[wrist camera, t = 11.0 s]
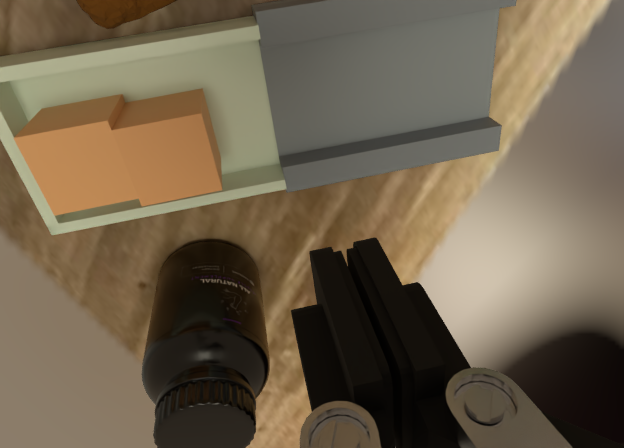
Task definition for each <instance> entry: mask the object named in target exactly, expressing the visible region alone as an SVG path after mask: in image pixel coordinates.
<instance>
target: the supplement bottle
mask: <svg viewBox="0 0 624 448" xmlns="http://www.w3.org/2000/svg"><path fill="white" fill-rule="evenodd" d="M269 371H270V362H269V351H268V343H267V334H266V326H265V317H264V309H263V301H262V292H261V285H260V278H259V274H258V270H257V268H256V266H255V264H254V262H253V261H252V260H251V258H250V257H249V256H248V255H247V254H245V253H244V252H243V251H241V250H240V249H238V248H236V247H234V246H232V245H229V244H225V243H221V242H199V243H194V244H191V245H188V246H186V247H184V248H182V249H180V250H178V251H177V252H175V253H174V254H173V255H171V256H170V257H169V258H168V260H167V261H166V262H165V263H164V265H163V267H162V269H161V271H160V274H159V277H158V282H157V287H156V292H155V298H154V303H153V309H152V314H151V320H150V325H149V331H148V336H147V342H146V348H145V353H144V359H143V366H142V381H143V385H144V388H145V390H146V393H147V394H148V396H149V397H150V399H151V400H152V401H153V403H154V404H155V405H156V408H155V418H156V419H155V426H154V434H153V435H154V439H155V444H156V445H157V448H246V446H248V445H249V444H250V441H251V440H253V439H254V434H255V433H256V416H255V410H256V400H255V399H256V398H257V397H258V396H259V395H260V393H261V392H262V390H263V388H264V387H265V385H266V382H267V380H268V376H269Z"/></svg>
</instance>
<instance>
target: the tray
mask: <svg viewBox="0 0 624 448" xmlns="http://www.w3.org/2000/svg"><path fill="white" fill-rule="evenodd" d="M259 39H261V38H260V32H259V26H258V24H257V22H256V20H255V18H254V16H248V17H242V18H235V19H229V20H223V21H217V22H211V23H204V24H198V25H192V26H186V27H180V28H173V29H167V30H161V31H155V32H149V33H142V34H136V35H130V36H124V37H118V38H111V39H105V40H99V41H93V42H87V43H80V44H74V45H68V46H62V47H55V48H49V49H43V50H37V51H31V52H24V53H18V54H12V55H6V56H0V139H1V141H2V143H3V145H4V147H5V149H6V151H7V152H8V154H9V156H10V158H11V160H12V162H13V164H14V166H15V167H16V169H17V171H18V173H19V175H20V177H21V179H22V181H23V182H24V184H25V186H26V188H27V190H28V192H29V194H30V196H31V197H32V199H33V201H34V203H35V205H36V207H37V209H38V210H39V212H40V214H41V216H42V218H43V220H44V222H45V224H46V225H47V227H48V229H49V231H50V233H51V235H56V234H61V233H67V232H72V231H77V230H82V229H87V228H92V227H97V226H102V225H107V224H112V223H117V222H122V221H127V220H132V219H137V218H143V217H148V216H153V215H158V214H163V213H168V212H173V211H178V210H183V209H188V208H193V207H198V206H203V205H208V204H213V203H219V202H224V201H229V200H234V199H239V198H244V197H249V196H254V195H259V194H264V193H269V192H274V191H279V190H284V189H286V183H285V178H284V175H283V172H282V168H281V165H280V160H279V155H278V149H277V143H276V138H275V132H274V126H273V120H272V115H271V109H270V103H269V97H268V92H267V86H266V80H265V75H264V69H263V63H262V57H261V52H260V46H259ZM202 88H203V92H204V96H205V99H206V103H207V107H208V111H209V114H210V118H211V122H212V126H213V130H214V133H215V137H216V141H217V145H218V149H219V152H220V156H221V171H222V190H221V191H216V192H211V193H206V194H201V195H196V196H191V197H186V198H182V199H177V200H172V201H167V202H162V203H157V204H152V205H147V206H141V204H140V201H139V199H134V200H129V201H125V202H120V203H115V204H110V205H105V206H100V207H95V208H90V209H85V210H80V211H75V212H70V213H65V214H60V215H55V216H54V214H53V212H52V210H51V208H50V207H49V205H48V203H47V201H46V199H45V197H44V195H43V193H42V191H41V190H40V188H39V186H38V184H37V182H36V180H35V178H34V176H33V174H32V173H31V171H30V169H29V167H28V165H27V163H26V161H25V159H24V157H23V155H22V154H21V152H20V150H19V148H18V146H17V144H16V142H15V140H14V137H15V136H16V135H17V134H18V133H19V132H20V131H21V130H22V129H23V128H24V127H25V126H26V124H27V123H28V122H29V121H30V120H31V119H32V118H33V117H34V116H35V115H36V114H37V113H38V112H39V111H40V110H41V109H42V108H48V107H53V106H59V105H64V104H70V103H75V102H81V101H86V100H91V99H97V98H102V97H108V96H113V95H119V94H122V95H123V97H124V100H125V103H126V102H132V101H137V100H142V99H148V98H153V97H159V96H164V95H169V94H175V93H180V92H186V91H191V90H197V89H202Z"/></svg>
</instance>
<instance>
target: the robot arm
mask: <svg viewBox="0 0 624 448" xmlns="http://www.w3.org/2000/svg"><path fill="white" fill-rule="evenodd" d="M310 260H311V267H312V273H313V280H314V287H315V293H316V300H317V305H312V306H308V307H303V308H298V309H294V310H291V314H292V319H293V324H294V329H295V334H296V339H297V344H298V349H299V353H300V358H301V363H302V368H303V372H304V377H305V382H306V386H307V391H308V396H309V400H310V405H311V410H312V413H311V414H310V415H309V416H308V417H307V418H306V420H305V422H304V424H303V426H302V428H301V435H300V448H395V446H396V448H624V446H623V445H621V444H618V443H616V442H613V441H611V440H608V439H606V438H604V437H601V436H599V435H596V434H594V433H592V432H589V431H587V430H585V429H582V428H580V427H577V426H575V425H572V424H570V423H568V422H565V421H563V420H560V419H558V418H555V417H553V416H551V415H548V414H546V413H543V412H541V411H540V410H539V409H538V408H537V407H536V406H535V405H534V403H533V402H532V401H531V400H530V399H529V398H528V397H527V395H526V394H525V393H524V392H523V391H522V390H521V389H520V388H519V387H518V385H517V384H515V383H514V382H513V381H512V380H511V379H510V378H509V377H507V376H505V375H503V374H501V373H499V372H498V371H494V370H491V369H487V368H471V367H470V365H469V364H468V362H467V360H466V359H465V357H464V355H463V354H462V352H461V350H460V349H459V347H458V345H457V344H456V342H455V340H454V339H453V337H452V335H451V334H450V332H449V330H448V329H447V327H446V325H445V324H444V322H443V320H442V319H441V317H440V315H439V314H438V312H437V310H436V309H435V307H434V305H433V304H432V302H431V300H430V299H429V297H428V295H427V294H426V292H425V290H424V288H423V287H422V286H421V284H419V283H418V282H416V283H411V284H407V285H402V284H401V282H400V280H399V278H398V276H397V274H396V273H395V271H394V269H393V267H392V265H391V263H390V262H389V260H388V258H387V256H386V254H385V252H384V251H383V249H382V247H381V245H380V243H379V241H378V240H377V238H370V239H366V240H361V241H356V242H354V244H353V248H351V249H347V262H348V266H347V264H346V261H345V259H344V257H343V254H342V252H341V251H337V252H333V249H332V247H328V248H323V249H318V250H313V251H310Z"/></svg>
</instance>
